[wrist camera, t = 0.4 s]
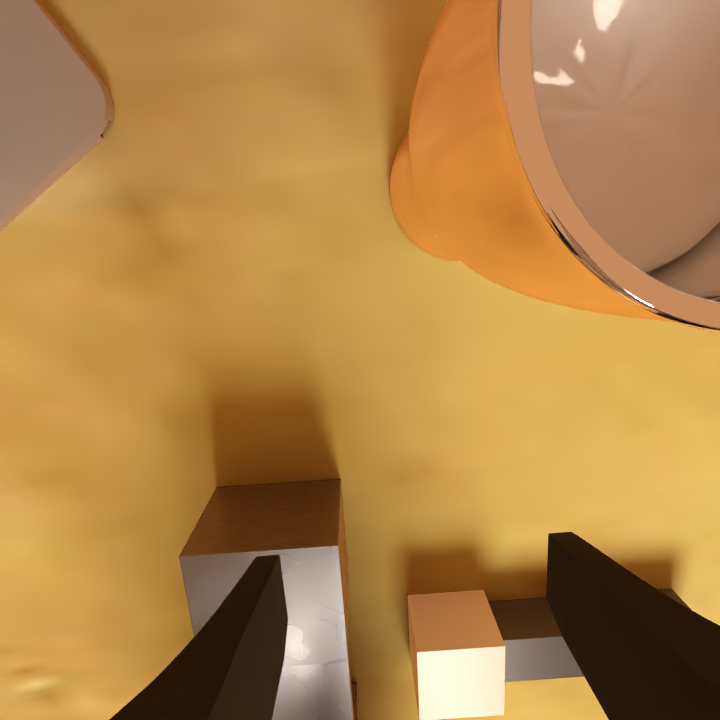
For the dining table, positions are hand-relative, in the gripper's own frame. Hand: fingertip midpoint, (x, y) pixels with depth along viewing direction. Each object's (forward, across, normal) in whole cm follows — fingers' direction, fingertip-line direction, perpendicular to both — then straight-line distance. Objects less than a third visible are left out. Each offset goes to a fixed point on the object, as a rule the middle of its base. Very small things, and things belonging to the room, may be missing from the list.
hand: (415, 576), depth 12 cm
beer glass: (+10, -4, -11) cm, 15 cm away
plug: (+10, -8, +11) cm, 17 cm away
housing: (+10, +6, +11) cm, 16 cm away
